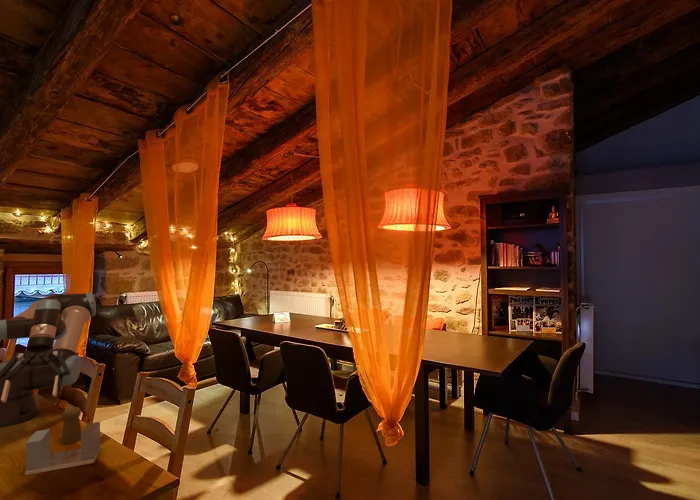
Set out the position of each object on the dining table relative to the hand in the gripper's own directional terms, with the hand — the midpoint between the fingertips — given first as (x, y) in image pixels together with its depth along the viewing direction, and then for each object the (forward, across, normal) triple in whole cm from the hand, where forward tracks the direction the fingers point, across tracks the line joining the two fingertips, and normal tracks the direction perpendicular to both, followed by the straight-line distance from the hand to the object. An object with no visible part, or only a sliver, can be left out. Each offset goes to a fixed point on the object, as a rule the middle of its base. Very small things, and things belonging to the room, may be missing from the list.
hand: (29, 398), depth 129 cm
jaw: (+22, +7, -7) cm, 24 cm away
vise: (+23, +14, -6) cm, 27 cm away
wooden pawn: (+14, +13, +7) cm, 20 cm away
